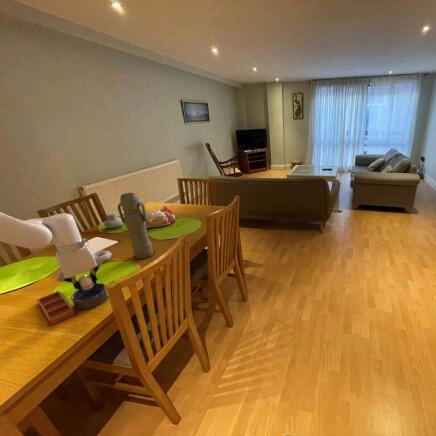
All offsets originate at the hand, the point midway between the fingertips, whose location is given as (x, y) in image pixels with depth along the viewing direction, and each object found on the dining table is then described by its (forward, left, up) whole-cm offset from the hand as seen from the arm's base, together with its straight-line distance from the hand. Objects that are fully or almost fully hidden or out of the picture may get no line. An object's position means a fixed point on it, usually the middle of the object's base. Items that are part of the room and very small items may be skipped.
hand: (87, 285), depth 96 cm
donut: (+14, +34, -8) cm, 38 cm away
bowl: (0, 0, -7) cm, 7 cm away
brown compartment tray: (-10, +6, -7) cm, 14 cm away
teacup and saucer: (+16, +56, -8) cm, 59 cm away
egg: (0, 0, -2) cm, 2 cm away
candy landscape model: (+58, +60, -8) cm, 84 cm away
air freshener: (+36, +76, -8) cm, 84 cm away
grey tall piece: (+30, +20, -8) cm, 37 cm away
